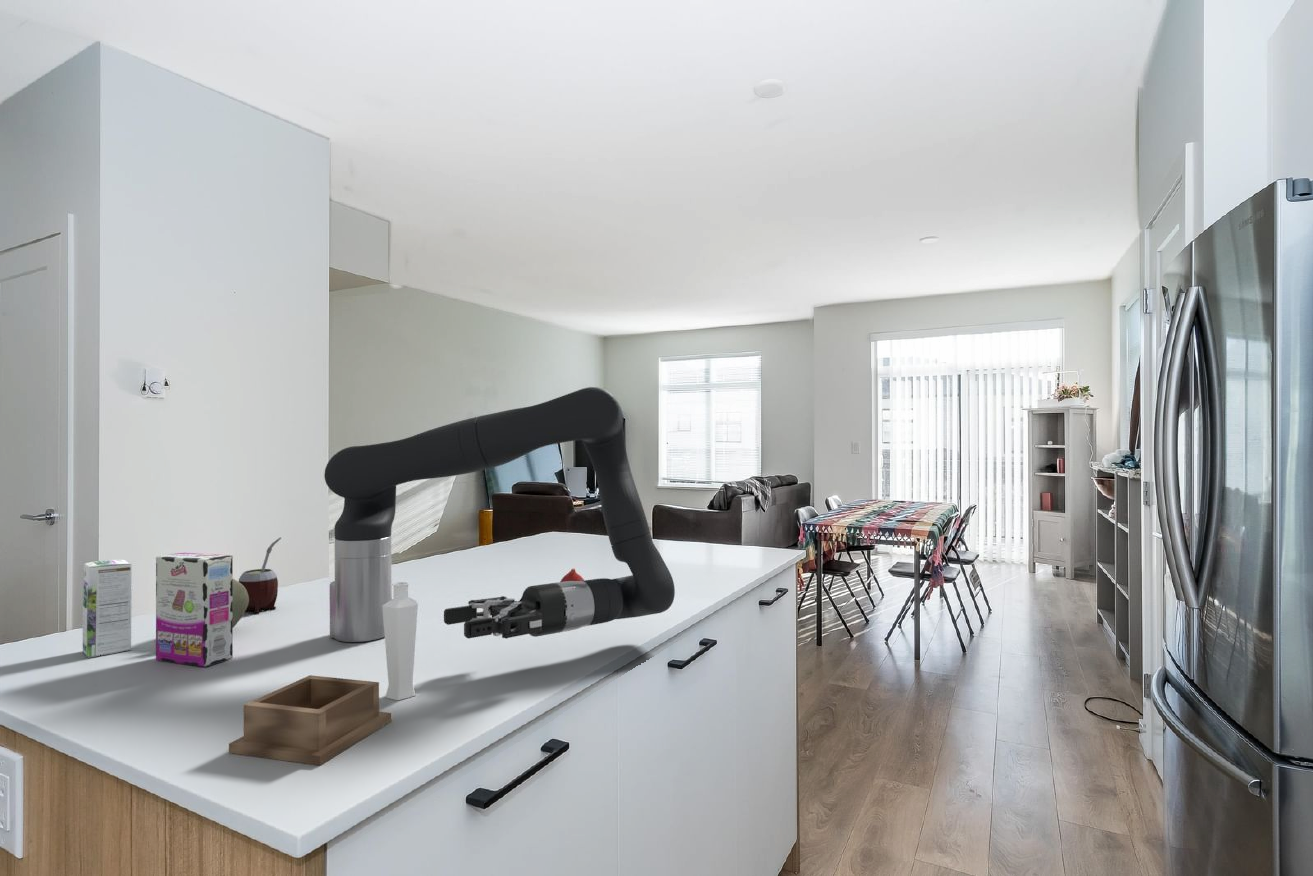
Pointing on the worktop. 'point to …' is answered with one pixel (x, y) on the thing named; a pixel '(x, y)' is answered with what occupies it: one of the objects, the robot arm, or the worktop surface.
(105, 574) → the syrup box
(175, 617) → the candy bar box
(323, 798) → the worktop surface
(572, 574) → the onion
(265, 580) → the mate gourd
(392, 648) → the perfume bottle
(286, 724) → the holder
